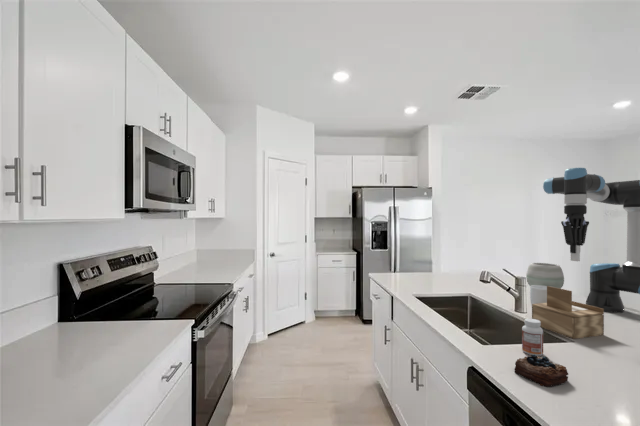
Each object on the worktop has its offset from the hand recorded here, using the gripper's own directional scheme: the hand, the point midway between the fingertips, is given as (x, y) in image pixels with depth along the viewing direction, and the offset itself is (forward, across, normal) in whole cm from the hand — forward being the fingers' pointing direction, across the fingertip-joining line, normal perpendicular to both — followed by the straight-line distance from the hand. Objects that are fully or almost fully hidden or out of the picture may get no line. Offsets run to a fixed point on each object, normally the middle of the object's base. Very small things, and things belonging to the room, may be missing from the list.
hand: (575, 260), depth 141 cm
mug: (+29, -6, -19) cm, 35 cm away
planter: (+29, -17, -28) cm, 43 cm away
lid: (+20, +5, 0) cm, 21 cm away
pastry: (+29, +53, +29) cm, 67 cm away
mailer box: (+28, +5, 0) cm, 29 cm away
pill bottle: (+29, +40, +15) cm, 51 cm away
